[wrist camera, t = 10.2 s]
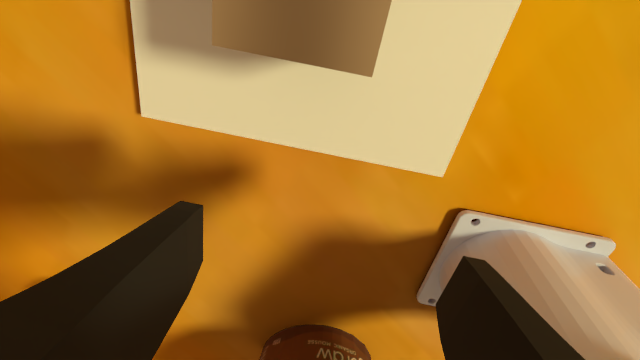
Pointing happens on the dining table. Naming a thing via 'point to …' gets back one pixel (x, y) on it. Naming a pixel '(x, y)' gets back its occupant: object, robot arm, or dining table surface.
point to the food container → (314, 345)
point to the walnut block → (304, 30)
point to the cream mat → (327, 82)
